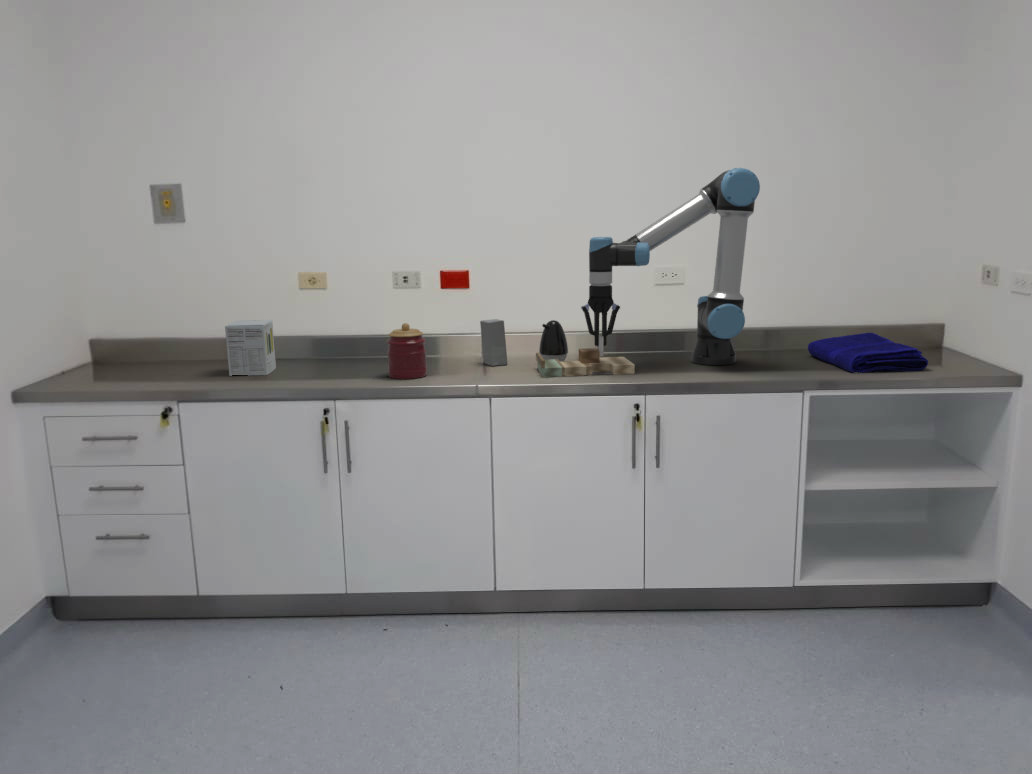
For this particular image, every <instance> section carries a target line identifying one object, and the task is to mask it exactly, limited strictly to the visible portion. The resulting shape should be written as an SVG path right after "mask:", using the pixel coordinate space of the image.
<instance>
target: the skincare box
mask: <svg viewBox="0 0 1032 774" xmlns="http://www.w3.org/2000/svg"><path fill="white" fill-rule="evenodd" d="M479 322H480V325H479V326H480V335H481V347H482V357H483V358H482V360H483V364H485V365H487V366H488V365H489V366H491V367H497V366H506V365H508V354H507V353H508V351H507V344H506V343H507V341H506V330H505V320H503V319H499V318H495V319H485V320H480V321H479Z"/></svg>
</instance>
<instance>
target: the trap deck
mask: <svg viewBox="0 0 1032 774" xmlns="http://www.w3.org/2000/svg"><path fill="white" fill-rule="evenodd" d="M535 360H536V362H537V370H538V372H540V374H541V376H542V377H543V378H558V377H559V378H562V377H565V376H566V377H585V376H584V375H591V376H605V375H606V376H609V375H610V376H611V375H612V376H613V375H634V374H635V371H636V370H635V367H636V366H635V363H633V362H632V361H630V360H629V359H627V358H626V357H625V356H611V357H610V356H609V357H608V356H607V357H605V356H602V357H600V363H581V362H580V361H579V357H578V358H577V360H571V361H569V360H568V361H565V360H564V361H563V362H560V361H559V360H558V359H550V360H544V359H543V357H542V356H541V355H540V353H539V352H535Z"/></svg>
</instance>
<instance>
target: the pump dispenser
mask: <svg viewBox="0 0 1032 774" xmlns="http://www.w3.org/2000/svg"><path fill="white" fill-rule="evenodd" d="M541 326H542V327H543V330H542V334H541V337H540V342H539V348H538V349H539V351H538V353H539V354H540V355H541V356H542V357H543V359H544V360H550V359H558V360H559V361H560V362H564V361H565V360H566V359H567V355H568V354H569V345H568V341H567V337H566V333H565V330H564V328H563V326H562V325H561V323H560V322H559V321H558V320H555V319H554V320H553V319H552V320H549V321H548V322H547V323H546V324H545V323H543V324H542V325H541Z"/></svg>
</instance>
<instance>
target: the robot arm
mask: <svg viewBox="0 0 1032 774" xmlns="http://www.w3.org/2000/svg"><path fill="white" fill-rule="evenodd" d="M760 184H761V183H760V180H759V178H758V176H757V175H756V173H754V172H753V171H751V170H750V169H747V168H742V167H738V168H737V167H734V168H732V169H728V170H726V171H723V172H722V173H721V174H718V176H716V177H715V178H714V179H713V180H712V181H711V182H709V183H708V184H706V185H705V186H703V187H702V188H701V189H700V190H699V192H698V194H696V195H695V196H694V197H692V198H690V199H689V200H688V201H686V202H684V203H683V204H681V205H679V206H678V207H676V208H675V209H673V210H672V211H670V212H669V213H667V214H665V215H664V216H662V217H660V218H659V219H657V220H656V221H655V222H653V223H651V224H650V225H648V226H647V227H645V228H643V229H642V230H641V231H639V232H637V233H636V234H634V235H633V236H630V237H629V238H627V239H626V240H623V241H622V242H614V240H613V238H612V237H611V236H593V237H591V238H590V239H589V248H588V260H589V261H588V263H589V265H588V268H589V277H588V281H589V284H590V285H589V286H588V291H589V292H588V301H587V303H586V304H584V305H582V306H581V307H580V309H581V310H582V312H583V313H584V318H585V322H586V325H587V330H588V333H589V334H590V335H592V336H594V346H596V347H597V349H598V350H599V351H600V357H604V347H605V346H607V338H608V336H609V335H612V333H613V331H614V326H615V323H616V318H617V314H618V312H619V311H620V309H621V306H620V305H619V304H616V303H615V302H614V299H613V285H611V284H613V267H641V266H645V267H646V266H647V265H649V263H650V258H651V257H650V256H651V253H650V252H651V251H653V250H654V249H656V248H658V247H659V246H661V245H663V244H664V243H666V242H667V241H669V240H670V239H672V238H673V237H675V236H677V235H678V234H680V233H681V232H683V231H685V230H686V229H688V228H690V227H691V226H693V225H694V224H696V223H698V222H700V221H701V220H702V219H704V218H706V217H708V216H709V215H710V214H713V215H715V214H718V215H719V217H720V219H719V220H720V221H719V230H718V238H717V239H718V240H717V246H716V247H717V248H716V249H717V250H716V259H715V267H714V277H713V287H712V288H713V289H712V291H711V292H710V293H708V295H703V296H699V298H698V299H697V305H696V307H697V323H696V324H697V327H696V331H697V332H696V334H697V335H696V341H695V345H694V347H693V349H692V353H691V359H690V361H691V362H692V363H694V364H698V365H706V366H708V365H709V366H727V365H732V364H735V363H736V362H737V355H736V352H735V349H734V348H735V347H734V344H733V342H732V338H734V337H736V336H739V334H740V333H741V332H742V331H743V328H745V323H746V317H745V313H744V311H743V309H744V302H745V301H744V300H745V298H744V296H743V295H742V294H741V285H742V276H743V266H744V257H745V248H746V240H747V239H746V238H747V231H748V230H747V229H748V222H749V221H748V220H749V218H750V217H751V216H752V215H753V214H754V212H755V204H756V199H757V198H758V196H759V194H760V190H761V185H760ZM590 309H591V310H592V312H593V317H594V318H593V322H594V323H593V324H592V319H591V315H590ZM611 309H612V310H611ZM610 310H611V315H610V318H609V322H608V312H609V311H610ZM600 314H601V335H600ZM593 325H594V326H593Z"/></svg>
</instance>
